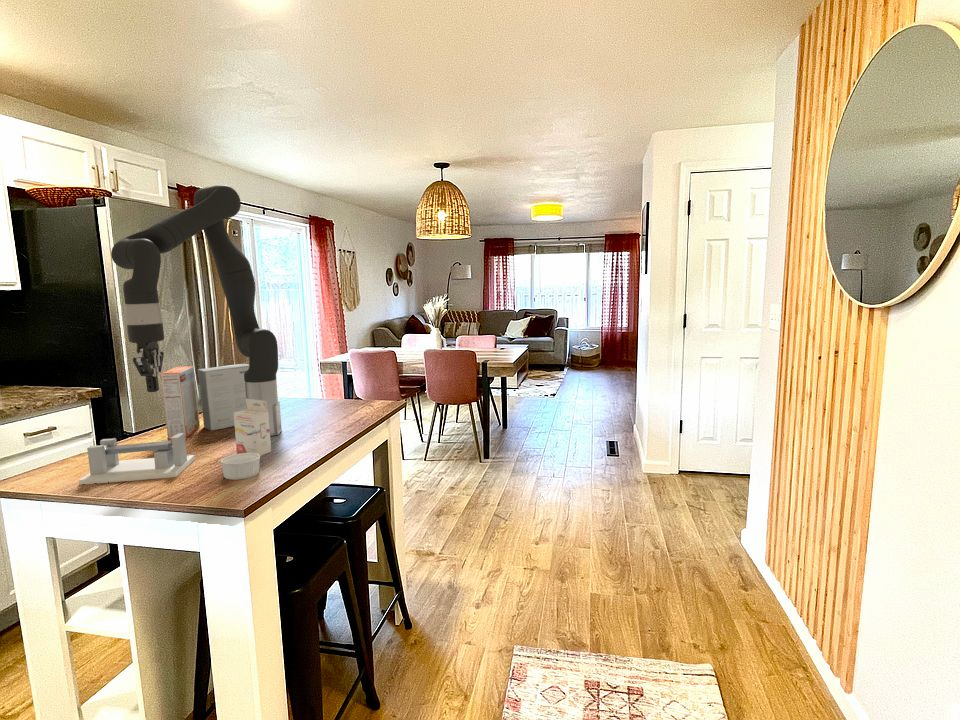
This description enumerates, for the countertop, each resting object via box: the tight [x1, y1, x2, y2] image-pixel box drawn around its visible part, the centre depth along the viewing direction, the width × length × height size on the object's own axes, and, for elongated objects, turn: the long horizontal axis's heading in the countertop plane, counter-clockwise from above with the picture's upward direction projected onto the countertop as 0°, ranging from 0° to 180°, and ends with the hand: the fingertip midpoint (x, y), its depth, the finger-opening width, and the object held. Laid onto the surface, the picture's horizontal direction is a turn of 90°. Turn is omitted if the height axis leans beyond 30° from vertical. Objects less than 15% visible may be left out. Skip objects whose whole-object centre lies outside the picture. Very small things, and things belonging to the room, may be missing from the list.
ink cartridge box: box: [234, 399, 272, 457], centre depth 145 cm, size 9×5×15 cm, turn 65°
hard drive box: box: [197, 363, 249, 432], centre depth 177 cm, size 16×8×20 cm, turn 133°
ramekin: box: [220, 453, 261, 481], centre depth 129 cm, size 9×9×4 cm
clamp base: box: [78, 433, 196, 486], centre depth 132 cm, size 21×14×9 cm, turn 101°
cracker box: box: [159, 365, 201, 440], centre depth 167 cm, size 14×6×21 cm, turn 13°
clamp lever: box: [104, 440, 173, 455], centre depth 132 cm, size 17×4×2 cm, turn 101°
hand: (153, 391), depth 131 cm, fingers closed
